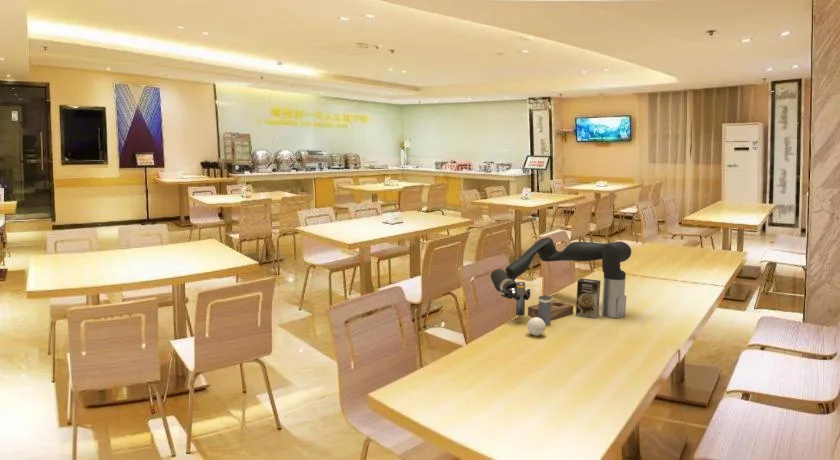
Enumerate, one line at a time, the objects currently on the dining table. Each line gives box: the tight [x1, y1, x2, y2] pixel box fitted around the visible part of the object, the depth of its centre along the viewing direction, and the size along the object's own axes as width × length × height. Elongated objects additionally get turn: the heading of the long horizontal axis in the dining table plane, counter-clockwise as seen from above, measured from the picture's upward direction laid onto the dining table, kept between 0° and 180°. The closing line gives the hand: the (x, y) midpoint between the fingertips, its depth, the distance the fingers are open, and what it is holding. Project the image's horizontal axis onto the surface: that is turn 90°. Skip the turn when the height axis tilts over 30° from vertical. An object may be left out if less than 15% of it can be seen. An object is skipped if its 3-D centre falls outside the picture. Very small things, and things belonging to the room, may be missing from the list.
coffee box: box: [575, 277, 601, 319], centre depth 268 cm, size 9×6×16 cm
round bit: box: [515, 281, 526, 317], centre depth 257 cm, size 4×4×14 cm
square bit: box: [538, 294, 552, 327], centre depth 256 cm, size 4×4×12 cm
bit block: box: [527, 299, 574, 321], centre depth 270 cm, size 11×18×4 cm, turn 129°
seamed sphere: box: [526, 317, 548, 337], centre depth 242 cm, size 10×7×7 cm
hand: (522, 298), depth 254 cm, fingers closed on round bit, 3 cm apart
